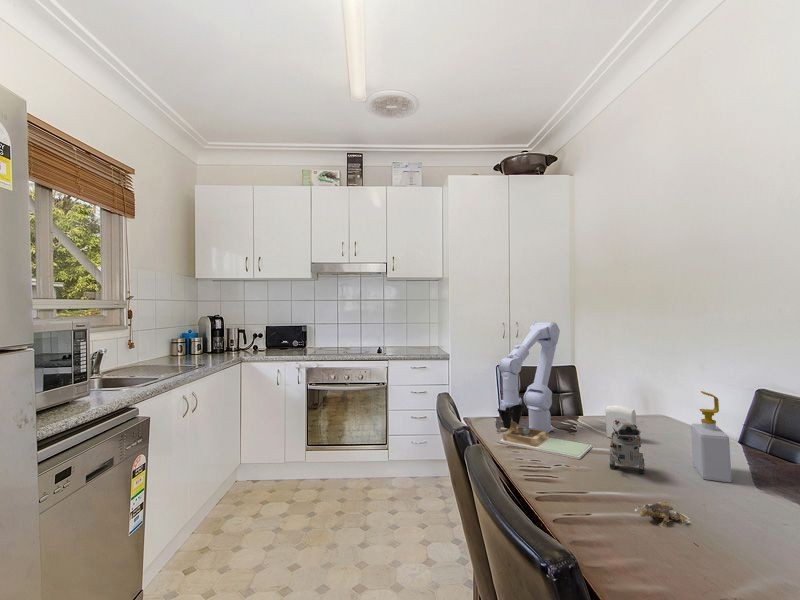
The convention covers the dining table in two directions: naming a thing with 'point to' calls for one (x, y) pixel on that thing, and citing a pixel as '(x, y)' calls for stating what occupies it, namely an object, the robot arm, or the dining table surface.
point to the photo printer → (618, 416)
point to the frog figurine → (662, 513)
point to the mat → (564, 446)
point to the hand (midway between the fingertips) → (511, 425)
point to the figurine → (626, 445)
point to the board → (546, 450)
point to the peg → (525, 432)
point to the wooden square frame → (516, 438)
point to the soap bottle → (711, 447)
